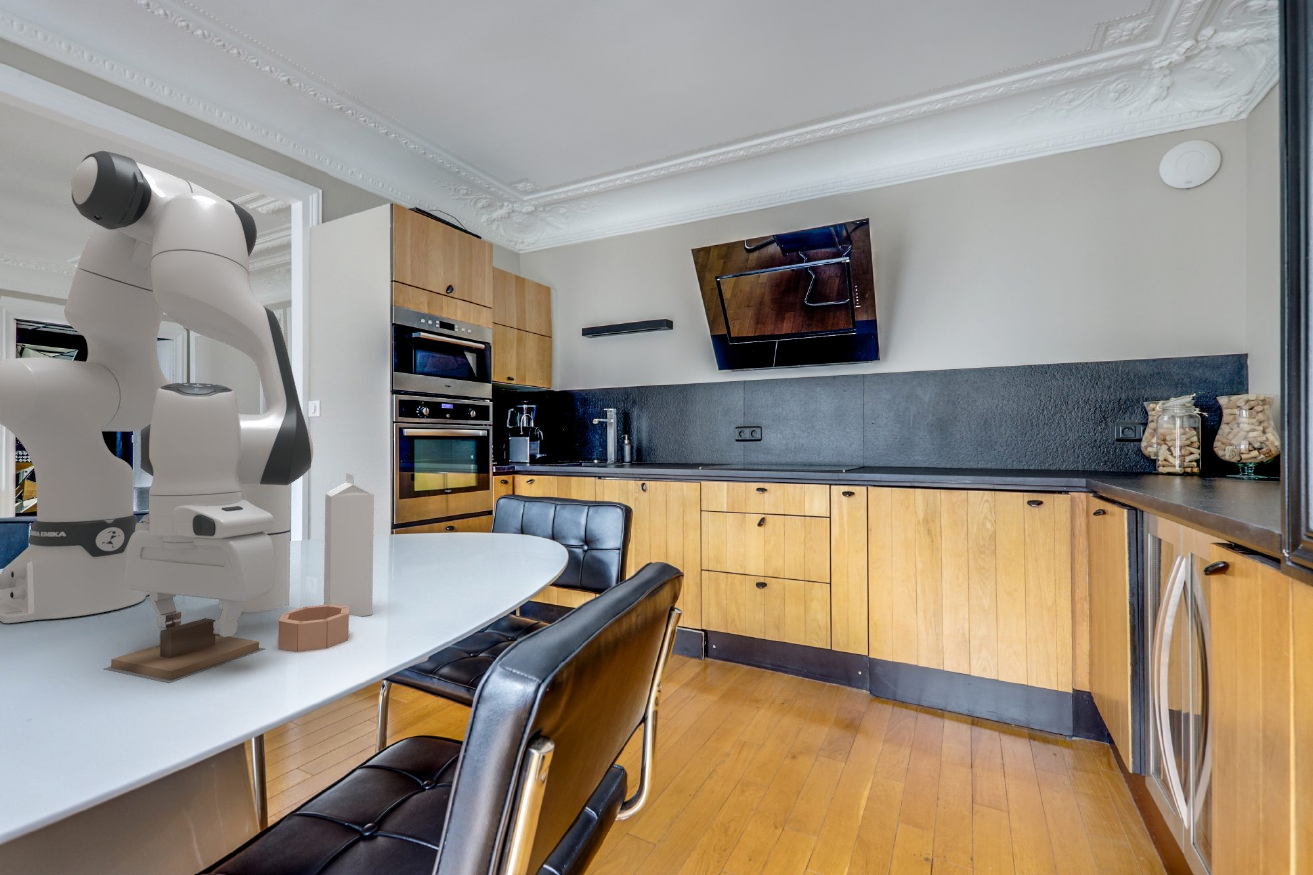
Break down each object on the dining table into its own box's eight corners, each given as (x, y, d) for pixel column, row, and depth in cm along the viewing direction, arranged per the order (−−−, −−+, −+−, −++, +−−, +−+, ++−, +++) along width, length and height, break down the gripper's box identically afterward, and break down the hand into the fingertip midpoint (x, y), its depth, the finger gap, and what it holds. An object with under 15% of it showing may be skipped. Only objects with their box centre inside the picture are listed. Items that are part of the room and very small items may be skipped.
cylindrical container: (295, 611, 92) (297, 453, 92) (240, 621, 87) (243, 454, 87) (281, 602, 97) (284, 452, 97) (229, 611, 92) (232, 452, 92)
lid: (111, 667, 67) (111, 632, 67) (202, 639, 77) (203, 609, 77) (171, 680, 64) (171, 643, 64) (258, 649, 73) (259, 617, 73)
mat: (102, 677, 67) (102, 668, 67) (203, 645, 77) (204, 637, 77) (168, 692, 63) (169, 682, 63) (265, 656, 74) (265, 648, 74)
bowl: (264, 654, 75) (265, 618, 75) (318, 634, 82) (318, 602, 82) (310, 663, 72) (311, 626, 72) (361, 642, 79) (362, 608, 79)
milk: (329, 622, 88) (330, 475, 88) (323, 612, 93) (324, 472, 92) (373, 615, 91) (374, 474, 91) (365, 605, 96) (366, 471, 96)
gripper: (108, 516, 71) (107, 630, 71) (232, 523, 65) (232, 649, 65) (165, 510, 77) (165, 615, 77) (284, 516, 71) (284, 631, 71)
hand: (196, 631), depth 71 cm, fingers open, 8 cm apart
